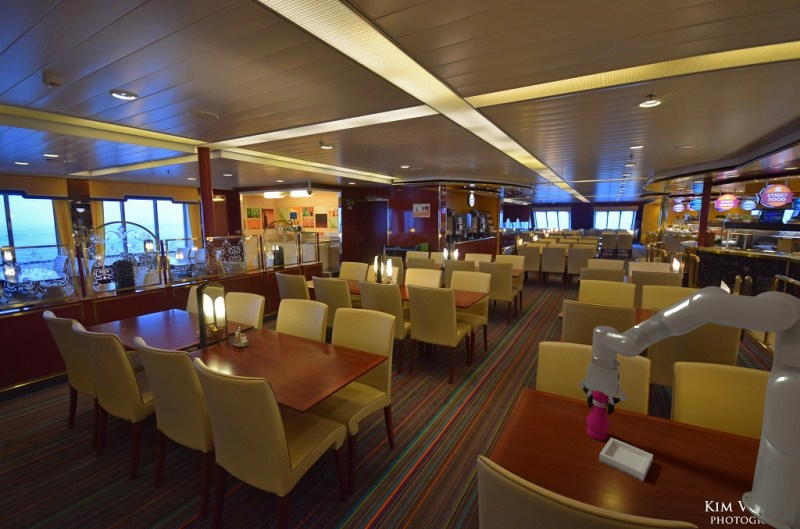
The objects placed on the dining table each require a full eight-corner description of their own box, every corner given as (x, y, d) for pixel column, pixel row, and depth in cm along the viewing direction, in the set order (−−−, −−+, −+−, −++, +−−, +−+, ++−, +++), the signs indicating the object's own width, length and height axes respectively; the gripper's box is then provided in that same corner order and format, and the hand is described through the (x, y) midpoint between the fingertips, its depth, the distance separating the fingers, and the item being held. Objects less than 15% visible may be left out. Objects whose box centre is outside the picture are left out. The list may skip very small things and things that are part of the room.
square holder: (652, 461, 111) (653, 454, 111) (643, 481, 103) (644, 473, 103) (610, 443, 120) (611, 437, 120) (599, 460, 112) (599, 453, 111)
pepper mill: (581, 431, 127) (586, 380, 123) (594, 426, 130) (599, 376, 126) (599, 443, 120) (605, 390, 117) (612, 437, 123) (619, 385, 120)
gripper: (635, 365, 117) (631, 415, 119) (581, 352, 129) (578, 397, 132) (629, 372, 112) (625, 424, 114) (573, 357, 124) (571, 404, 127)
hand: (600, 409), depth 123 cm, fingers open, 5 cm apart
